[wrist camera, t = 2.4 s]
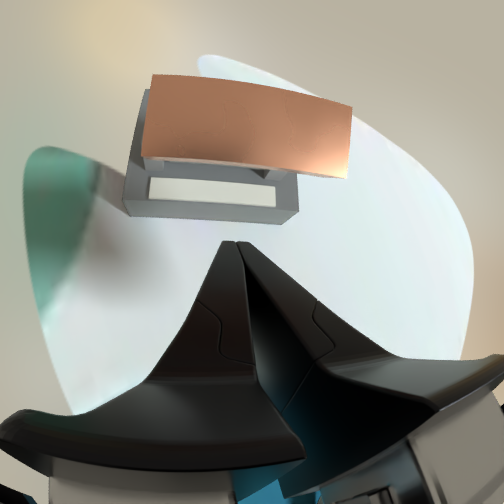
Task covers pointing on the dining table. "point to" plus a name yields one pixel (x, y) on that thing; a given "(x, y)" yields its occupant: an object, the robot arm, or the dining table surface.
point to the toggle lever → (245, 126)
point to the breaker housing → (205, 188)
